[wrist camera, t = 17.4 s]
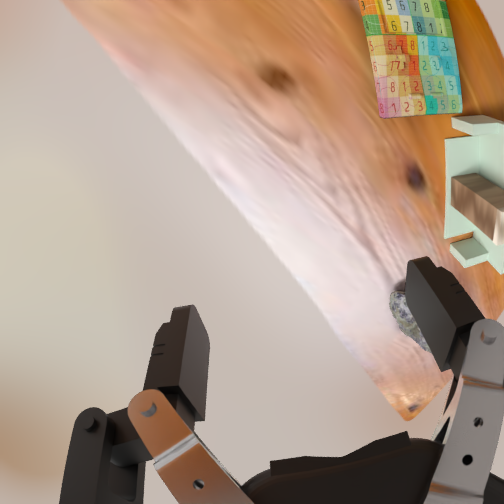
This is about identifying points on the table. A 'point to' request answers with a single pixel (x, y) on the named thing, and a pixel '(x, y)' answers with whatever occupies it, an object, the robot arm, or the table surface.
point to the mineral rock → (406, 319)
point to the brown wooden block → (480, 204)
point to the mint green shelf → (486, 165)
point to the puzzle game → (412, 57)
